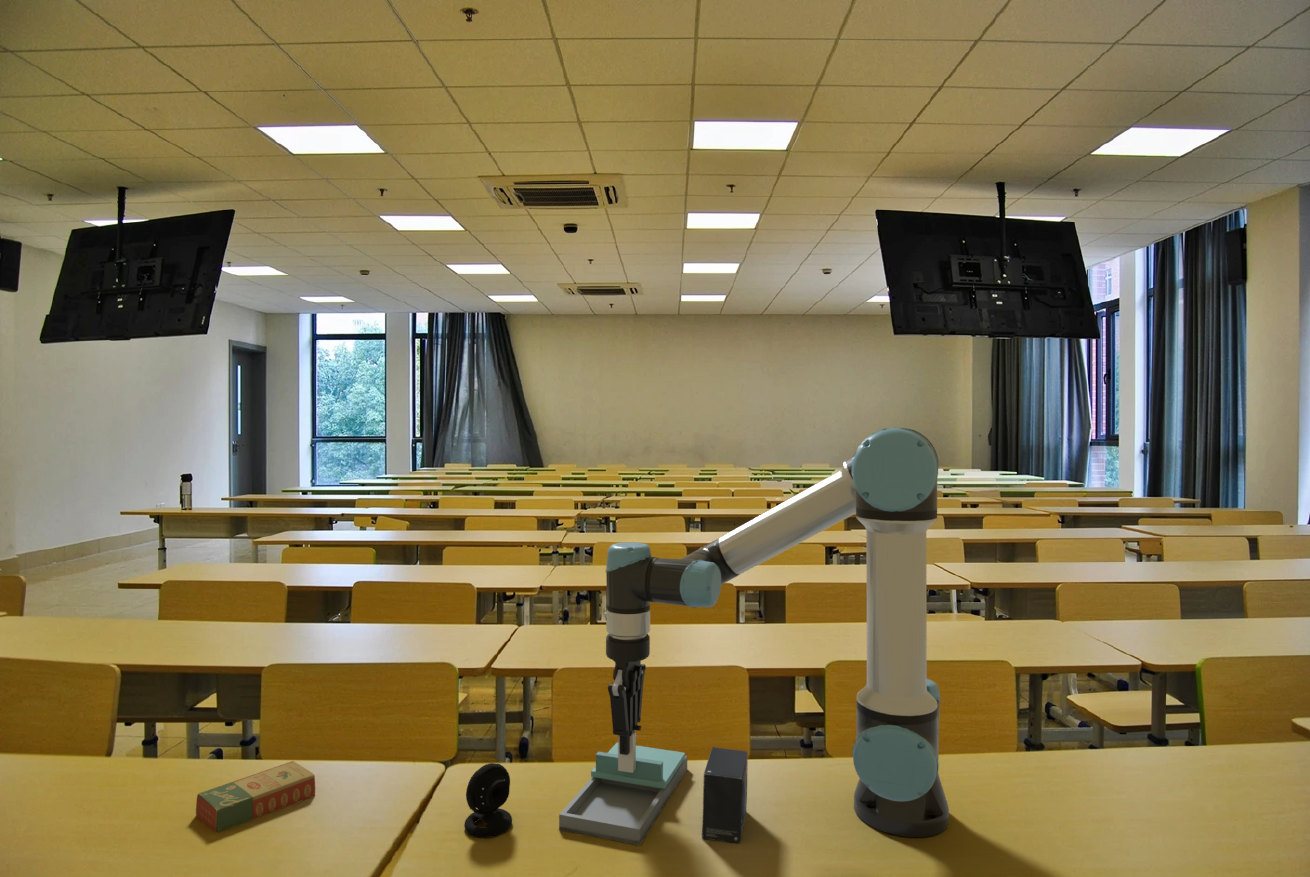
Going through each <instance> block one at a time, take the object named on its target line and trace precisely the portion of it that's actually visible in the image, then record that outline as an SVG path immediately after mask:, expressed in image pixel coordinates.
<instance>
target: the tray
mask: <svg viewBox="0 0 1310 877" xmlns="http://www.w3.org/2000/svg"><path fill="white" fill-rule="evenodd" d="M687 771H688V755H685V759H684V760H683V762H682V764H681V765H680V767H679V768H678V770H677V771H676V773H675V774H674V776H673V777H672V779H671V780H670V782H669V783H668V785H667V786H666V788H665V789H662V788H656V787H650V786H644V785H638V784H632V783H626V782H620V781H614V780H608V779H602V778H596V777H591V778H590V779H589V780H588V781H587V782H586V784H584V786H583V787H582V788H581V789H580V790H579V791H578V792H577V794H576V795H575V796H574V797H572V799H571V800H570V801H569V803H568V804H567V805H566V806H565V807H564V808H563V810H562V811H560V813H559V815H558V830H559V831H562V832H568V833H572V834H579V835H583V836H584V835H585V836H589V837H593V838H600V839H604V840H609V841H615V842H620V843H625V844H631V845H634V846H635V845H636V846H640V845H641V844H642V842H643V841H644V839H645V838H646V835H648V832H649V831H650V830H651V828H652V827H653V825H654V823H655V822H656V820H657V818H658V817H659V815H660V814H661V812H662V811H663V809H664V807H665V805H667V802H668V801H669V799H670V798H671V796H672V794H673V793H674V792H675V789H676V788H677V786H678V785H679V783H680V782H681V780H682V779H683V777H684V775H685V773H687Z"/></svg>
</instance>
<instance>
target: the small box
mask: <svg viewBox="0 0 1310 877" xmlns="http://www.w3.org/2000/svg"><path fill="white" fill-rule="evenodd" d="M748 760H749V759H748V751H746V750H738V749H730V748H723V747H715V746H712V747H711V750H710V753H709V756H708V759H707V762H706V766H705V769H704V771H703V787H702V788H703V793H702V794H703V796H702V826H701V827H702V828H701V829H702V830H701V839H704V840H713V841H719V842H726V843H727V842H728V843H735V844H740V843H741V840H742V835H743V830H744V829H743V828H744V825H745V819H746V813H747V803H748V763H749V761H748Z"/></svg>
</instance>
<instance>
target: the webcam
mask: <svg viewBox="0 0 1310 877" xmlns="http://www.w3.org/2000/svg"><path fill="white" fill-rule="evenodd" d="M510 786H511V778H510V774H509V772H508V770H507V768H505V767H504V765H503V764H500V763H493V762H491V763H486V764H484V765H482V766H481V767H480V768H478V769H477V770H476V771H475V772H474V773H473V774H472V775H471V777H470V779H469V780H468V784H467V787H466V792H465V797H466V799H465V800H466V802H467V806H468V807H469V808H470V810H471V811H472V813H470V814H469V815H468V816H467V817H466V819H465V820H464V826H463V827H464V831H465V832H466V833H467V834H469V835H470V836H472V837H475V838H480V839H482V838H484V839H486V838H494V837H498V836H500V835H503V834H504V833H506V832H507V831H509V829H510V828H511V826H512V823H513V818H512V815H511V813H510V812H509V811H508V810H505V809H503V808H501V807H502V806H503V805H505V803H506V802H507V800H508V798H509V796H510V790H511V789H510V788H511V787H510ZM478 821H481V822H482V823H484V824H485V825H486V827H482V826H481V827H480V826H477V825H475V823H476V822H478Z"/></svg>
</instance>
